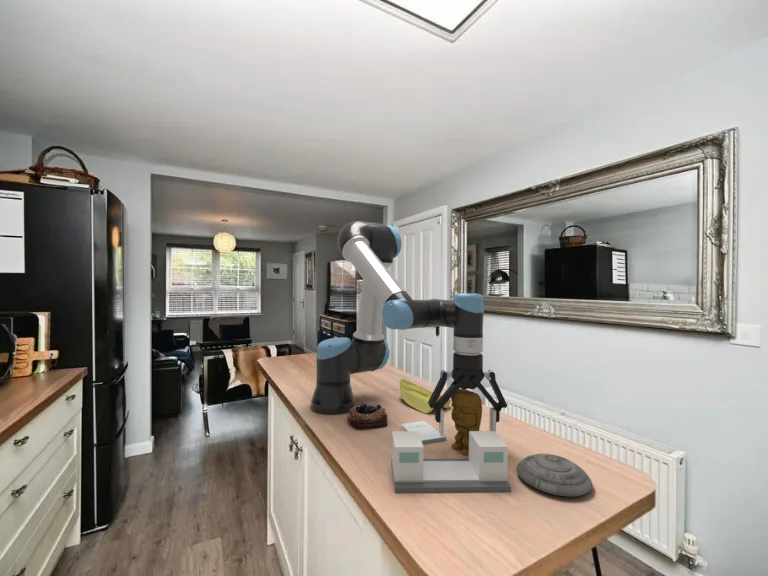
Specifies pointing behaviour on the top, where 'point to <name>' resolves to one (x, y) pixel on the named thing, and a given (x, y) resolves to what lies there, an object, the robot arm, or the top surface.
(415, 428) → the external hard drive
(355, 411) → the pastry
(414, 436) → the rail board
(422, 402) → the plastic component
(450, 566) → the top surface
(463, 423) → the figurine
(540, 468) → the flying saucer
